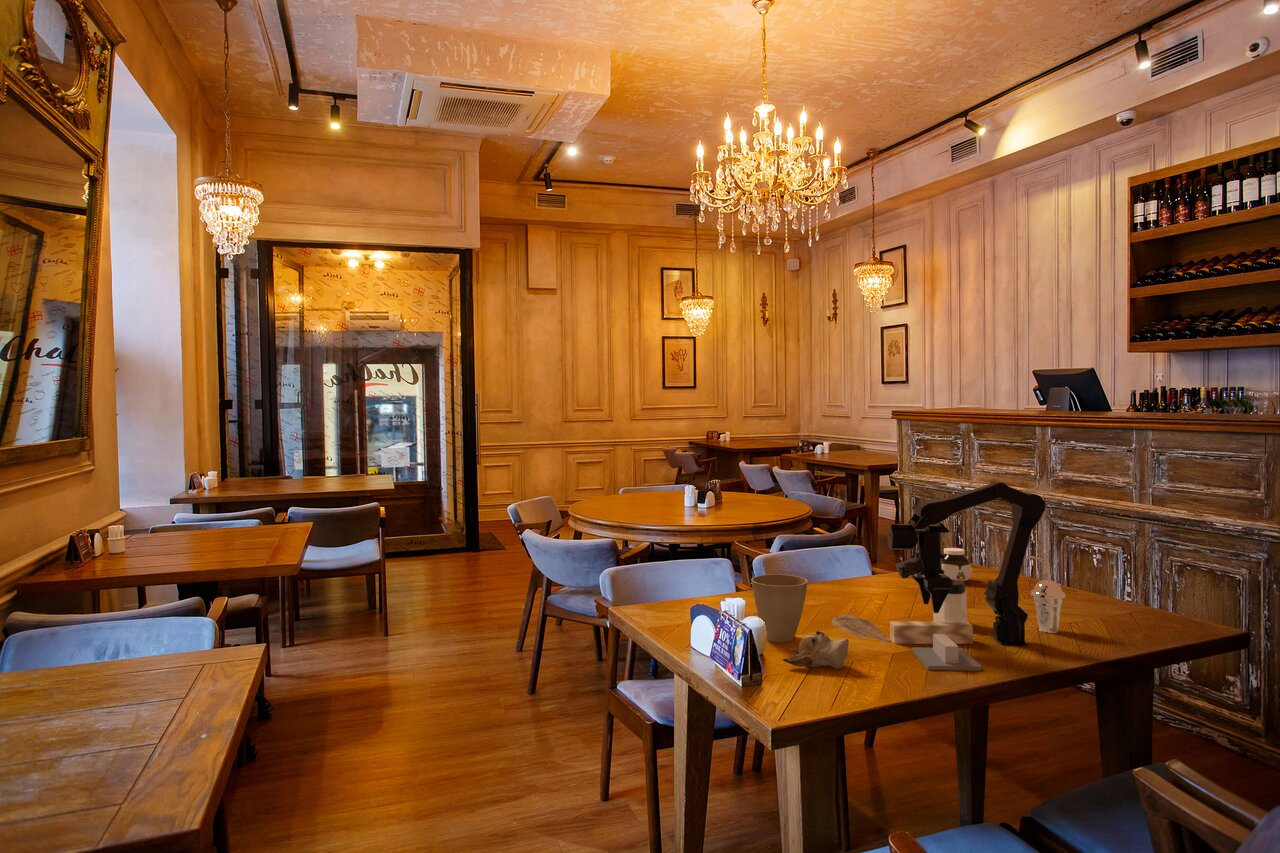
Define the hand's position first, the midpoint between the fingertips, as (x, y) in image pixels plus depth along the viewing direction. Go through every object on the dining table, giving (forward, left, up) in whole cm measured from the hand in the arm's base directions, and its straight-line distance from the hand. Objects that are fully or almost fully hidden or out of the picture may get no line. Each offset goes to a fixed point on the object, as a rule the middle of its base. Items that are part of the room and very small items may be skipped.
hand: (930, 608), depth 198 cm
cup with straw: (-34, -11, -9) cm, 37 cm away
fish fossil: (+16, -10, -9) cm, 21 cm away
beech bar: (0, 0, -9) cm, 9 cm away
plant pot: (+39, -1, -9) cm, 40 cm away
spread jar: (-29, -73, -9) cm, 79 cm away
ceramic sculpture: (+32, +21, -9) cm, 39 cm away
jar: (-10, -17, -9) cm, 22 cm away
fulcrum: (+1, +16, -9) cm, 18 cm away
